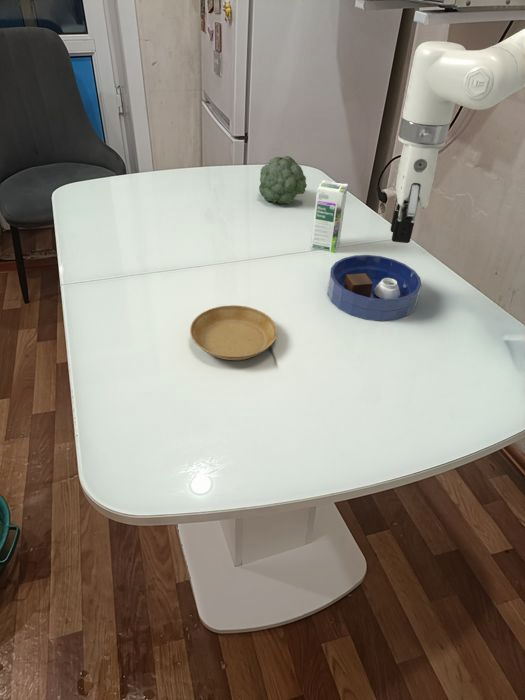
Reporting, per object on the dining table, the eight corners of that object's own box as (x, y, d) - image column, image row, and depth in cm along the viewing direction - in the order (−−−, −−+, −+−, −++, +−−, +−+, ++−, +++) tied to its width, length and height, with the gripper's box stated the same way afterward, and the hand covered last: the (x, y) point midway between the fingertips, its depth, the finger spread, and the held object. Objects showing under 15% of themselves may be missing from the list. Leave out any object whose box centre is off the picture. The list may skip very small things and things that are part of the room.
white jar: (378, 285, 104) (370, 296, 100) (380, 272, 102) (373, 284, 98) (402, 292, 102) (395, 304, 98) (405, 279, 100) (398, 291, 97)
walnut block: (362, 290, 102) (365, 273, 99) (369, 301, 99) (373, 283, 96) (343, 292, 101) (346, 274, 99) (349, 303, 98) (353, 285, 96)
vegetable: (323, 190, 139) (304, 180, 126) (286, 218, 145) (265, 212, 131) (300, 154, 141) (279, 141, 127) (265, 183, 146) (241, 174, 133)
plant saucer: (263, 312, 95) (264, 301, 94) (287, 362, 84) (288, 349, 83) (184, 322, 92) (184, 309, 90) (198, 374, 81) (197, 361, 79)
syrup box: (309, 250, 116) (316, 187, 107) (316, 239, 120) (323, 178, 111) (334, 255, 115) (343, 192, 106) (339, 244, 119) (348, 182, 110)
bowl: (411, 281, 107) (416, 259, 104) (419, 328, 93) (425, 305, 90) (329, 272, 108) (332, 251, 105) (325, 317, 95) (328, 294, 92)
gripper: (454, 149, 75) (425, 260, 87) (440, 120, 88) (416, 220, 99) (403, 144, 76) (380, 255, 87) (396, 116, 89) (377, 216, 100)
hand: (399, 236), depth 93 cm, fingers open, 3 cm apart
